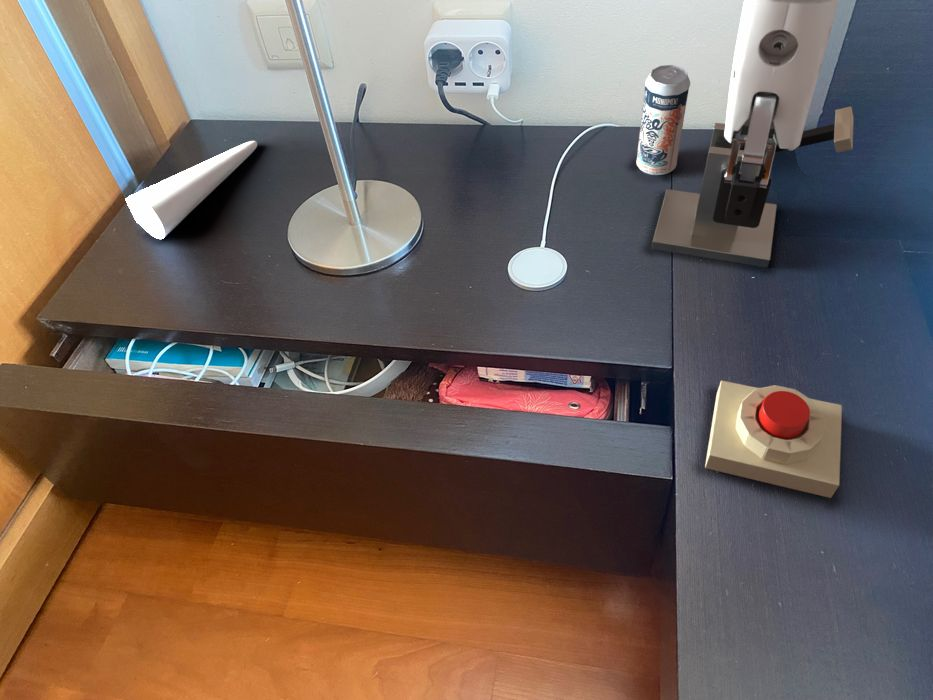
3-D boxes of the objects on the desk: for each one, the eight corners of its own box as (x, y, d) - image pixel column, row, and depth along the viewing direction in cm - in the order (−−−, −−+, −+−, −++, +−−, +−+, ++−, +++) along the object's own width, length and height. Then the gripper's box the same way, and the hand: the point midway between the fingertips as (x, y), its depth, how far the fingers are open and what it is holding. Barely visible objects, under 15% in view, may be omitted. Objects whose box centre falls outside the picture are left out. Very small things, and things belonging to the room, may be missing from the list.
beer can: (628, 170, 87) (638, 79, 78) (647, 149, 89) (659, 58, 80) (664, 183, 85) (678, 91, 76) (683, 161, 87) (699, 69, 78)
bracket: (774, 212, 80) (803, 120, 71) (767, 268, 75) (797, 176, 66) (665, 197, 84) (679, 106, 74) (651, 249, 78) (665, 159, 69)
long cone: (290, 171, 96) (171, 245, 85) (259, 160, 99) (140, 230, 89) (278, 130, 92) (151, 203, 81) (246, 121, 95) (120, 189, 85)
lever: (854, 122, 68) (850, 100, 66) (853, 154, 65) (849, 132, 63) (723, 153, 74) (717, 133, 73) (717, 183, 72) (710, 163, 70)
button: (805, 408, 60) (811, 395, 59) (802, 443, 58) (809, 432, 57) (760, 398, 61) (764, 386, 60) (756, 433, 59) (761, 421, 58)
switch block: (834, 419, 63) (848, 392, 60) (831, 498, 59) (846, 474, 56) (716, 394, 66) (725, 367, 63) (704, 468, 61) (713, 443, 58)
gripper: (869, 19, 36) (785, 267, 49) (875, -114, 45) (804, 122, 59) (713, 9, 38) (673, 249, 51) (751, -117, 48) (709, 112, 61)
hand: (743, 181), depth 55 cm, fingers open, 9 cm apart
